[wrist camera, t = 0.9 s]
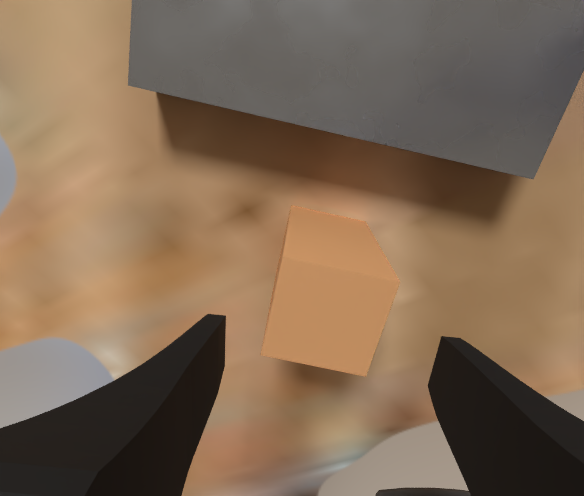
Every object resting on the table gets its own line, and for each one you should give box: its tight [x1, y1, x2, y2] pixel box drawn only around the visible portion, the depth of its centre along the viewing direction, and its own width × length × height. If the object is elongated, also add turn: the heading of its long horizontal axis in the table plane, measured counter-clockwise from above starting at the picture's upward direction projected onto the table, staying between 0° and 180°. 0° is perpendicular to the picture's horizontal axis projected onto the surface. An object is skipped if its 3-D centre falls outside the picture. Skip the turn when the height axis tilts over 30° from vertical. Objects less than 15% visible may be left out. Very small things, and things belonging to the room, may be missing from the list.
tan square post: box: [261, 205, 400, 377], centre depth 17 cm, size 4×4×8 cm
